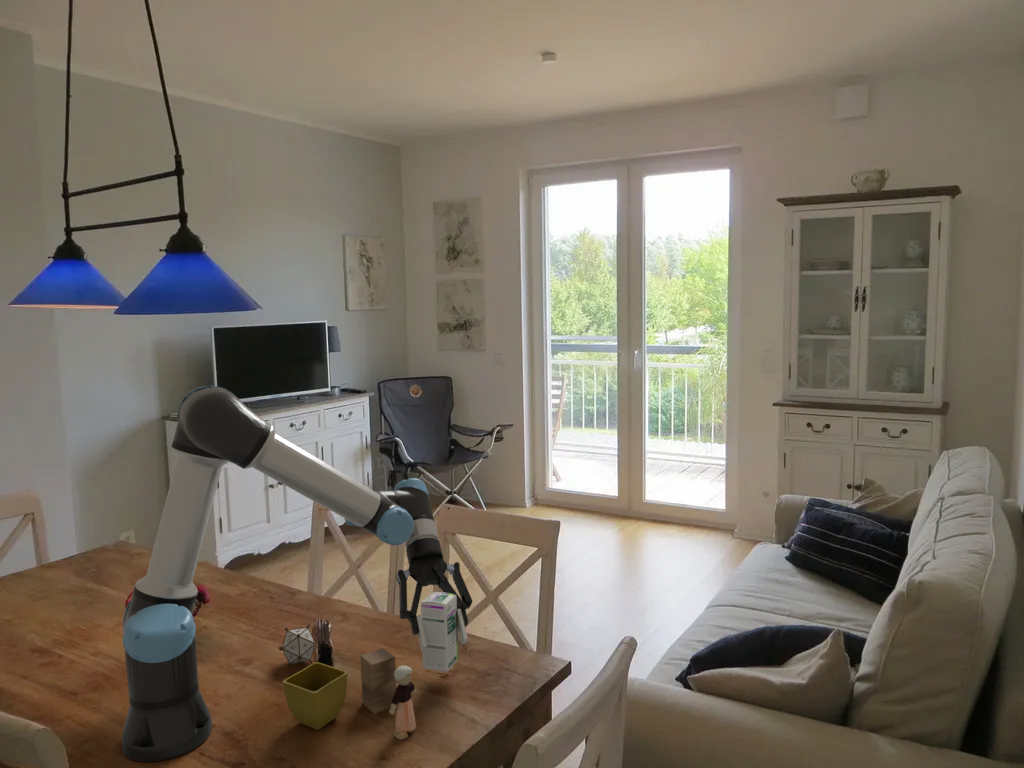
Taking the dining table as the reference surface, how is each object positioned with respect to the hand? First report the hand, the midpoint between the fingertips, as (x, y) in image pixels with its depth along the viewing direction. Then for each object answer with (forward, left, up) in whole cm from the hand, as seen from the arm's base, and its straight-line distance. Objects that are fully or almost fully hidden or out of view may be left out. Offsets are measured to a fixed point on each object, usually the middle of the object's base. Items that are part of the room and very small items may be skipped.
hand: (444, 645), depth 155 cm
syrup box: (+1, +3, -6) cm, 7 cm away
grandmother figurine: (-14, -8, -10) cm, 19 cm away
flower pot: (-25, +5, -10) cm, 28 cm away
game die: (-19, +30, -10) cm, 37 cm away
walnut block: (-13, +3, -10) cm, 17 cm away
